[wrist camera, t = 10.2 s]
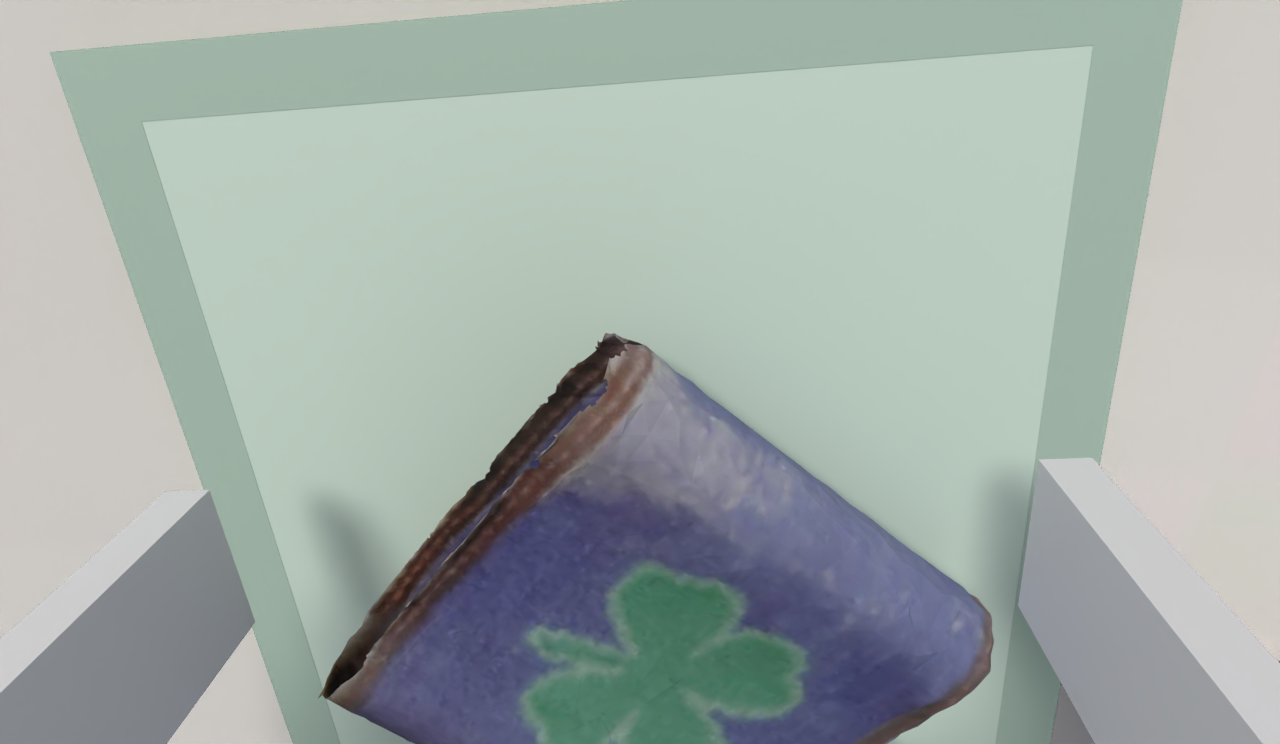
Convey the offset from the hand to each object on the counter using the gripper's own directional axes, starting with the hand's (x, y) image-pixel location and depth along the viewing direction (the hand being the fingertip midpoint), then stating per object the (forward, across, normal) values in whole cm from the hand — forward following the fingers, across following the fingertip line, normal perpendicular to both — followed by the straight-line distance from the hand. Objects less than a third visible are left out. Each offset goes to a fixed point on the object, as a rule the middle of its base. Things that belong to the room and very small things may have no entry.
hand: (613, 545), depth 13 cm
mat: (+4, 0, -1) cm, 4 cm away
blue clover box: (+4, -3, -1) cm, 5 cm away
